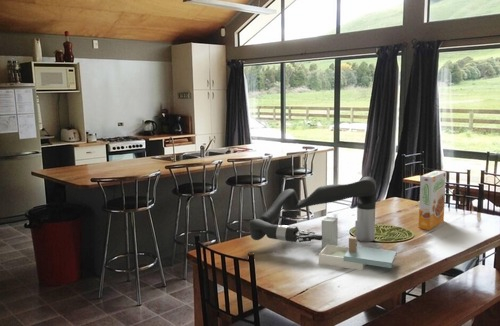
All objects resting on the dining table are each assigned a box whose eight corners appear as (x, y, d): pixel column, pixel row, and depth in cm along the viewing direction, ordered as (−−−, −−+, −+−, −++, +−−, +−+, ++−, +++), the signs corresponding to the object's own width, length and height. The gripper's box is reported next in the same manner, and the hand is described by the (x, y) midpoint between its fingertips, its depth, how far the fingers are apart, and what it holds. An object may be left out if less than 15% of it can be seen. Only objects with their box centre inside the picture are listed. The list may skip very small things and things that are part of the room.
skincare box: (332, 250, 224) (332, 221, 221) (320, 248, 227) (321, 220, 224) (337, 245, 231) (338, 217, 228) (326, 243, 234) (326, 216, 231)
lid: (343, 260, 201) (343, 242, 200) (351, 249, 215) (352, 232, 214) (391, 267, 192) (392, 248, 191) (396, 255, 206) (397, 237, 205)
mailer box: (318, 263, 207) (318, 254, 207) (327, 253, 220) (327, 244, 219) (362, 270, 199) (362, 260, 198) (368, 259, 211) (369, 250, 211)
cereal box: (429, 229, 254) (432, 177, 249) (418, 227, 258) (420, 176, 254) (443, 221, 271) (446, 171, 266) (432, 219, 275) (435, 170, 270)
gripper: (282, 229, 213) (317, 234, 206) (292, 222, 225) (326, 226, 218) (282, 245, 214) (317, 250, 207) (292, 236, 226) (325, 241, 219)
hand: (321, 237), depth 212 cm, fingers closed
